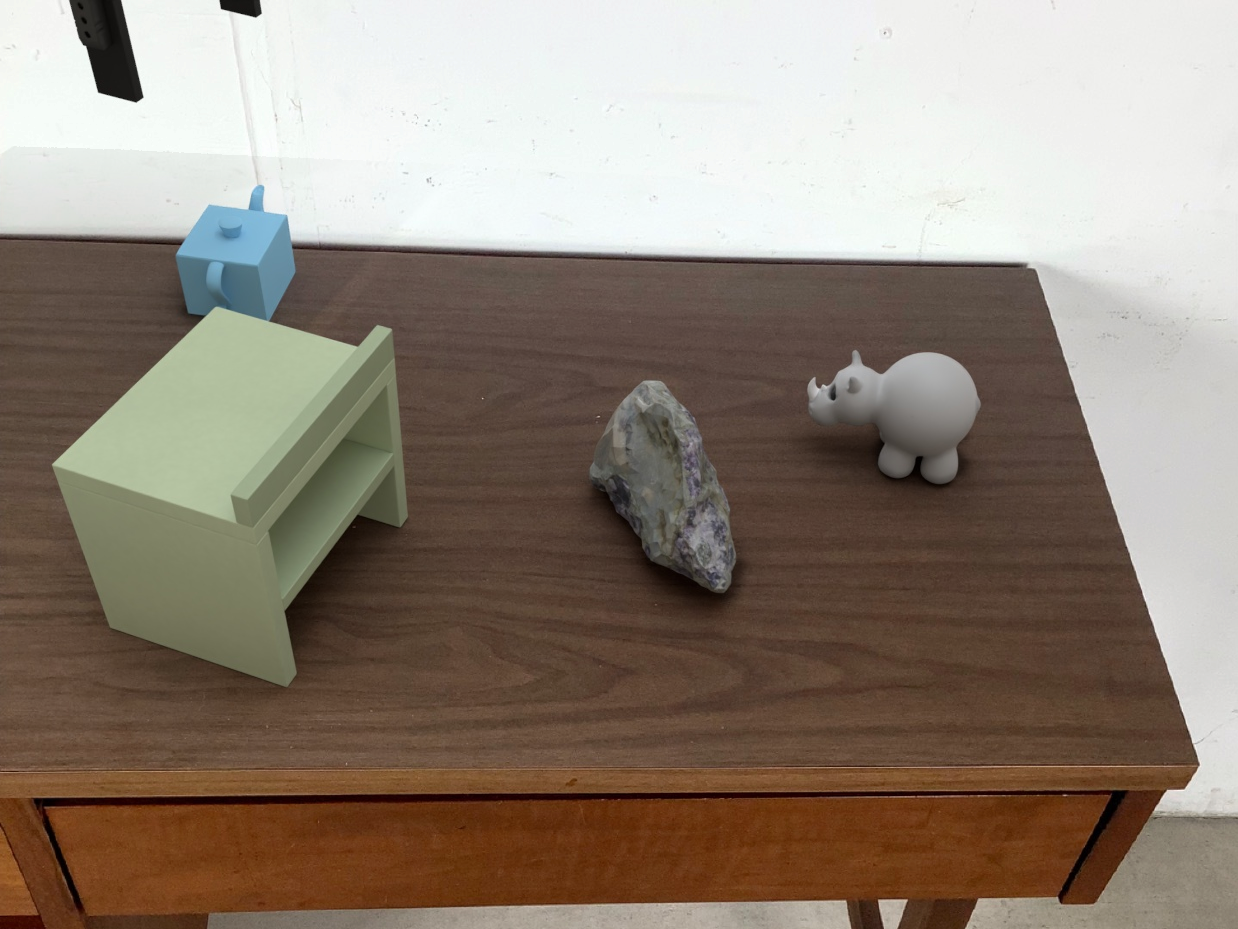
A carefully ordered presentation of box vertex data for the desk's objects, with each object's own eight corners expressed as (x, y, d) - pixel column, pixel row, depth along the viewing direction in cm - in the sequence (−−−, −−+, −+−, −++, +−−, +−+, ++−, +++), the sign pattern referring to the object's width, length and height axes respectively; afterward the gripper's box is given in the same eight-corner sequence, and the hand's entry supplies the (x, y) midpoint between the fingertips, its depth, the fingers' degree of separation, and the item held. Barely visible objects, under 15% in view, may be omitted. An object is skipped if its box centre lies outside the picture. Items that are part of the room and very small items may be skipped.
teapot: (236, 255, 104) (220, 168, 98) (310, 264, 104) (298, 179, 98) (184, 341, 96) (164, 252, 90) (264, 351, 96) (248, 263, 90)
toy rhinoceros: (801, 408, 96) (821, 312, 90) (959, 436, 96) (991, 341, 89) (791, 469, 92) (812, 372, 85) (957, 499, 91) (990, 404, 84)
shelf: (109, 628, 77) (40, 434, 66) (249, 467, 87) (209, 277, 76) (287, 688, 75) (247, 499, 64) (408, 517, 85) (392, 328, 74)
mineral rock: (727, 618, 81) (749, 502, 74) (561, 592, 82) (566, 475, 74) (744, 485, 90) (765, 369, 82) (594, 463, 90) (602, 345, 83)
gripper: (4, -296, 57) (118, 150, 73) (290, -392, 73) (332, -8, 89) (-134, -323, 59) (7, 121, 75) (176, -412, 75) (237, -30, 91)
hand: (184, 51), depth 82 cm, fingers open, 13 cm apart
